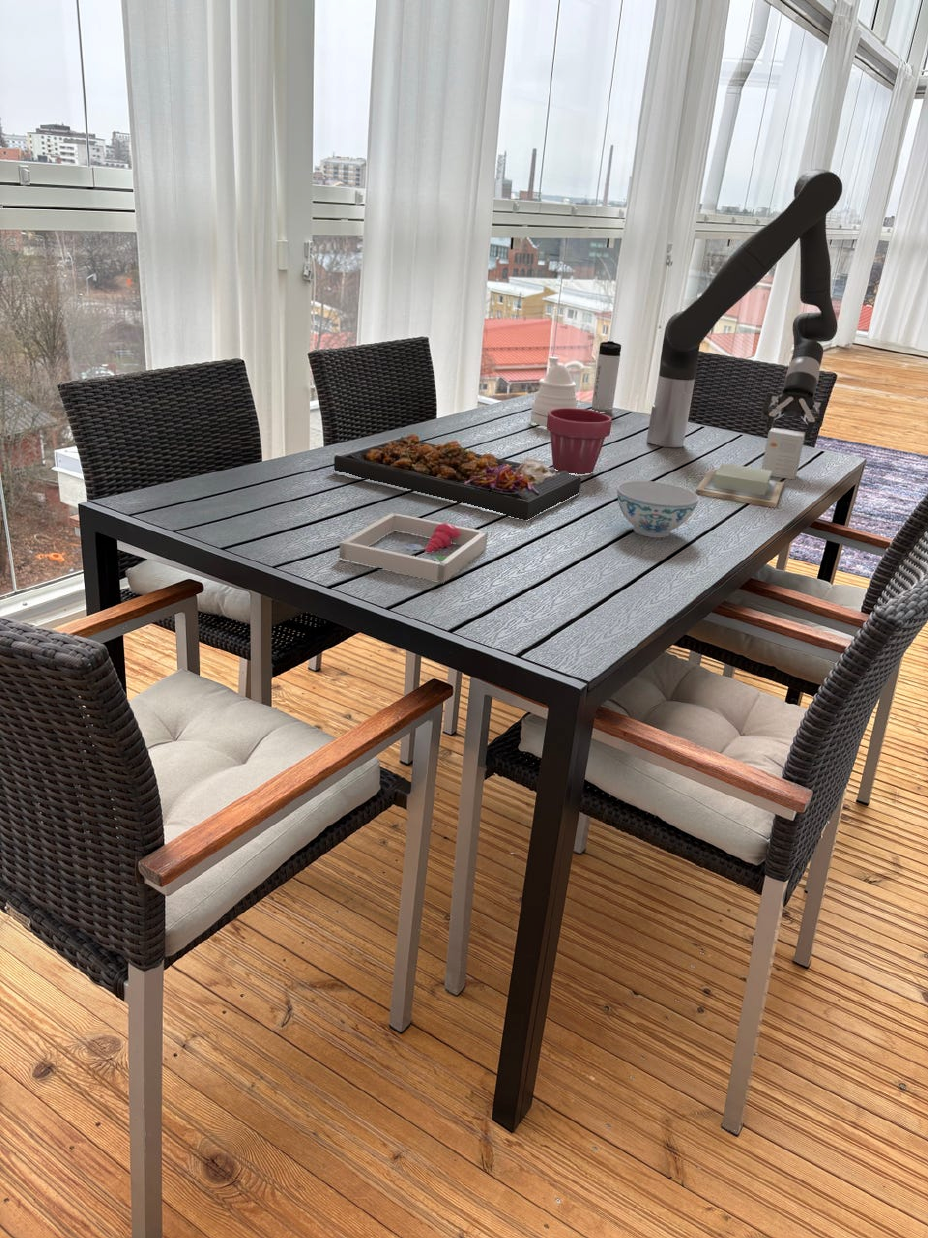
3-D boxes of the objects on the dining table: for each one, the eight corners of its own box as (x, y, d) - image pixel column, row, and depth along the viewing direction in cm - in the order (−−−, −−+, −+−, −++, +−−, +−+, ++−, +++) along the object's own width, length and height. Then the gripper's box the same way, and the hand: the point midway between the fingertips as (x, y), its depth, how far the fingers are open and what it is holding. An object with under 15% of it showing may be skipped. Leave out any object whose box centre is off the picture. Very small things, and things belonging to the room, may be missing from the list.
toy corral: (339, 560, 152) (339, 542, 150) (391, 528, 168) (392, 512, 167) (442, 583, 146) (444, 565, 145) (486, 548, 162) (487, 532, 161)
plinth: (712, 487, 209) (715, 474, 207) (720, 475, 219) (722, 462, 218) (763, 496, 205) (766, 482, 204) (769, 483, 215) (771, 470, 214)
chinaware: (674, 551, 170) (682, 509, 166) (598, 531, 176) (604, 491, 173) (702, 531, 181) (709, 492, 178) (629, 514, 188) (635, 476, 185)
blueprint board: (695, 493, 206) (696, 488, 206) (708, 473, 224) (709, 468, 223) (775, 507, 201) (776, 502, 201) (783, 486, 218) (784, 481, 218)
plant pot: (574, 482, 207) (581, 423, 202) (528, 466, 216) (535, 410, 211) (616, 474, 216) (625, 418, 211) (571, 460, 225) (578, 405, 220)
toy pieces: (406, 538, 165) (408, 513, 163) (468, 548, 163) (470, 524, 161) (382, 559, 154) (384, 534, 153) (448, 571, 152) (450, 545, 150)
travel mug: (611, 410, 286) (621, 341, 278) (612, 414, 280) (622, 344, 272) (590, 408, 287) (599, 339, 279) (591, 412, 281) (600, 342, 273)
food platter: (578, 497, 199) (585, 448, 194) (526, 524, 179) (532, 471, 174) (399, 455, 218) (401, 410, 214) (333, 476, 198) (335, 427, 194)
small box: (796, 475, 229) (806, 432, 225) (793, 480, 225) (803, 436, 220) (763, 469, 232) (772, 426, 228) (759, 474, 228) (768, 430, 223)
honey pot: (527, 427, 254) (534, 358, 247) (532, 418, 266) (539, 352, 259) (575, 433, 253) (584, 364, 246) (577, 423, 265) (586, 357, 257)
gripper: (772, 366, 231) (758, 421, 225) (834, 374, 226) (820, 430, 221) (770, 385, 237) (755, 439, 232) (829, 393, 233) (816, 448, 228)
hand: (787, 435), depth 227 cm, fingers closed on small box, 8 cm apart
